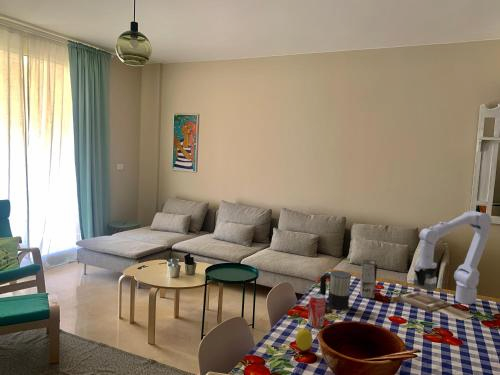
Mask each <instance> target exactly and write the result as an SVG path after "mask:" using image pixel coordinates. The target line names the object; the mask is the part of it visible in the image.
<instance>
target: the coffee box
mask: <svg viewBox="0 0 500 375" xmlns="http://www.w3.org/2000/svg"><path fill="white" fill-rule="evenodd" d="M377 270H378V264H377V262H376V260H374V259H373V260H371V259H370V260H369V259H361V272H360V287H359V292H360V296H361V297H362V298H369V299H375V295H376V284H377V283H376V282H377V272H378V271H377Z"/></svg>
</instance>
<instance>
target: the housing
mask: <svg viewBox="0 0 500 375" xmlns="http://www.w3.org/2000/svg"><path fill="white" fill-rule="evenodd" d="M437 281H438V277H437V276H434V275H433V276H431V275H428V274H426V276H425V280H424V284H423V286H421V285H418V281H417V276H416V273H414V275H413V286H414V287H417V288H420V289H423V290H426V291H428V292H430V291H434V290H436V289H437Z"/></svg>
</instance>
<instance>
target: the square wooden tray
mask: <svg viewBox="0 0 500 375" xmlns="http://www.w3.org/2000/svg"><path fill="white" fill-rule="evenodd" d="M392 300H393V301H392V302H394V303H399V302H402V303H404V304H406V305H410V306H412V307H416V308H418V309H420V310H422V311H425V312H427V313H431V312H434V311H437V310H440V309H443V308H446V307H449V306H451V307H452V306H453V303H451V302H448V301H445V300H444V299H441V298H440V297H439V298H438V297H437V296H433V295H430V294H427V293H424V292H421V291H412V292H409V293H405V294H401V295H396V296H394V297H393V299H392Z"/></svg>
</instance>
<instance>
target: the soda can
mask: <svg viewBox="0 0 500 375" xmlns="http://www.w3.org/2000/svg"><path fill="white" fill-rule="evenodd" d="M308 301H309V302H308V315H307V323H308V325H309V327H311V328H314V329H319V328H320V329H321V328H322V327H323V326H324V325H325V317H326V316H325V315H326V312H325V304H326V303H327V302H326V301H327V298H326V295H325V296H324V295H322V294H320V293H317V292H316V293H315V292H314V293H311V294H310V296H309V300H308Z"/></svg>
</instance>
